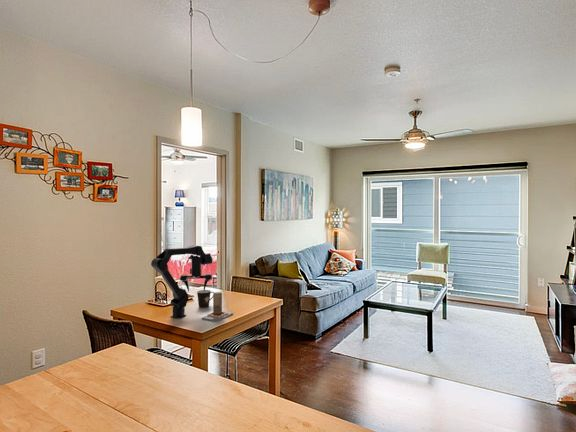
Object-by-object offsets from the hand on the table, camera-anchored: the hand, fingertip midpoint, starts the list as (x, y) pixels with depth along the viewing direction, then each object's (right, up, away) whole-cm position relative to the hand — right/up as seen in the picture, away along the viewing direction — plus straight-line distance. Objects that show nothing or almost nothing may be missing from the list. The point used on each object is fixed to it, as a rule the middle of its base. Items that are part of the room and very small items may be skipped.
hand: (196, 291), depth 214 cm
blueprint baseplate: (+15, -13, -10) cm, 22 cm away
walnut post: (+15, -12, -10) cm, 22 cm away
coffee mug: (+3, -13, +13) cm, 19 cm away
